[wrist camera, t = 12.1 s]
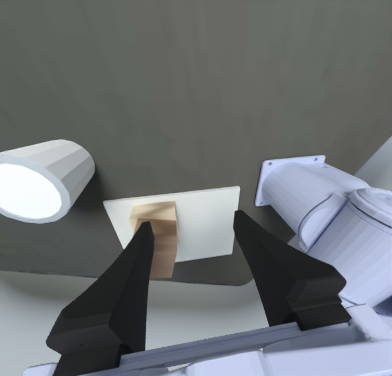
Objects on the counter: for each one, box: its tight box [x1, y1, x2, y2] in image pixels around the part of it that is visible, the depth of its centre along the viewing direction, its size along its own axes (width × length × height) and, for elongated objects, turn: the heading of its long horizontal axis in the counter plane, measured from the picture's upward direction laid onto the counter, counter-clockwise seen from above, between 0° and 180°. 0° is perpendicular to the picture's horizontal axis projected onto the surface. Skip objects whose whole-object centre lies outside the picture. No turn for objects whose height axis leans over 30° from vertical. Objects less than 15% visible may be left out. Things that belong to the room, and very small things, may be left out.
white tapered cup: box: [0, 139, 95, 223], centre depth 16 cm, size 7×7×7 cm
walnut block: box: [133, 218, 177, 278], centre depth 20 cm, size 5×5×5 cm
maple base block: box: [129, 201, 180, 244], centre depth 23 cm, size 6×6×3 cm
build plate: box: [103, 186, 240, 262], centre depth 27 cm, size 20×16×1 cm
